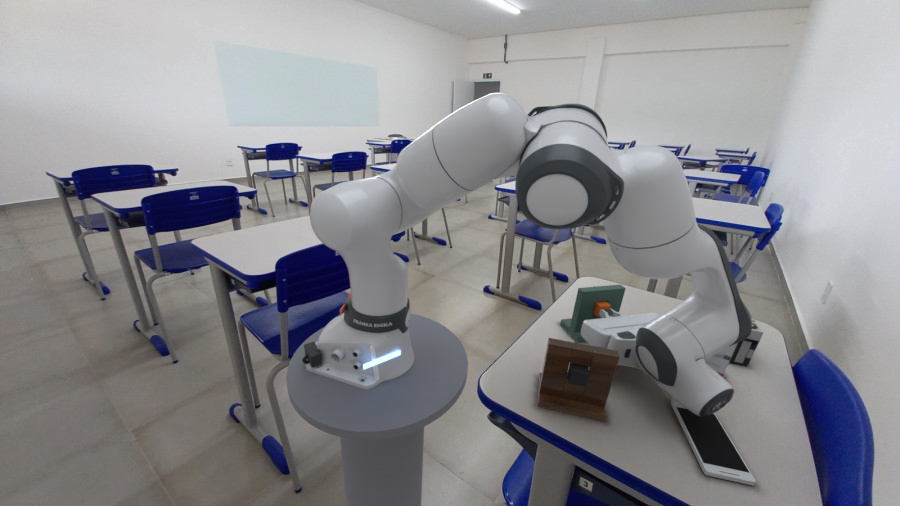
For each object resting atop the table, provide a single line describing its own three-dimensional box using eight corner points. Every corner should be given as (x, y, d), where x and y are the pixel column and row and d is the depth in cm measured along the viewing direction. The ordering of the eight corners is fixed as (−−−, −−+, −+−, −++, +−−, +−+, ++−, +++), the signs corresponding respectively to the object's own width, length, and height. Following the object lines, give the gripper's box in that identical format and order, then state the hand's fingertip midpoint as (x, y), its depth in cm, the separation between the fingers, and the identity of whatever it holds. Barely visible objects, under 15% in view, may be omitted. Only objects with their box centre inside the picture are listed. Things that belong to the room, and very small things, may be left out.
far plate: (618, 337, 89) (631, 292, 84) (577, 342, 86) (588, 296, 81) (598, 319, 96) (609, 277, 92) (560, 324, 93) (569, 280, 88)
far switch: (608, 315, 86) (610, 305, 85) (597, 316, 85) (600, 306, 84) (600, 309, 89) (602, 299, 88) (590, 310, 88) (592, 299, 87)
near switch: (585, 387, 63) (589, 373, 62) (568, 383, 64) (571, 370, 63) (584, 375, 66) (587, 363, 65) (567, 372, 66) (570, 359, 65)
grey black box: (693, 327, 96) (705, 294, 92) (728, 334, 93) (742, 301, 89) (708, 357, 84) (722, 322, 80) (749, 367, 81) (766, 331, 77)
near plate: (604, 422, 64) (621, 365, 59) (537, 406, 67) (548, 350, 62) (598, 390, 72) (613, 337, 67) (538, 377, 74) (548, 325, 69)
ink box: (723, 374, 78) (743, 329, 74) (719, 385, 75) (739, 339, 71) (679, 355, 84) (695, 312, 79) (674, 364, 80) (690, 320, 76)
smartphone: (709, 409, 68) (711, 405, 68) (755, 486, 54) (757, 482, 54) (669, 402, 70) (670, 398, 69) (704, 475, 56) (706, 471, 55)
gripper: (692, 328, 74) (643, 296, 87) (609, 339, 69) (570, 303, 81) (682, 352, 77) (636, 318, 89) (602, 365, 72) (565, 326, 84)
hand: (604, 311), depth 85 cm, fingers closed, pressing on far switch
